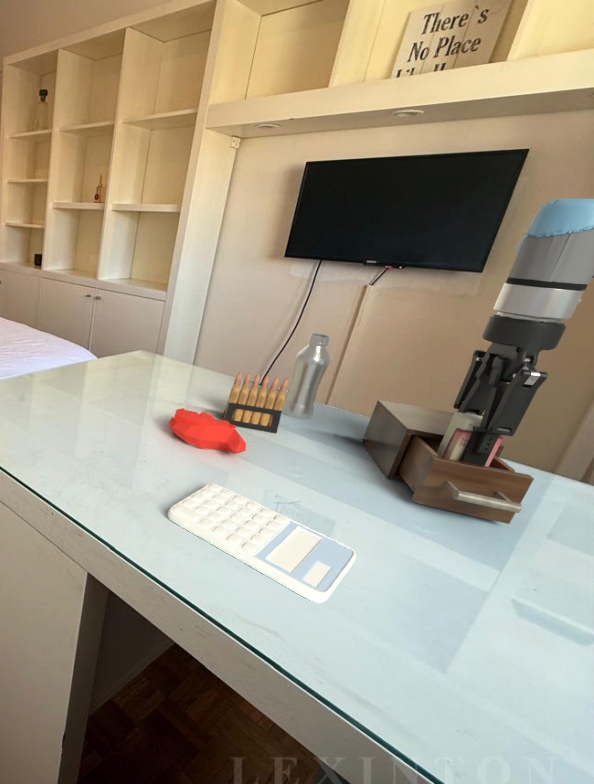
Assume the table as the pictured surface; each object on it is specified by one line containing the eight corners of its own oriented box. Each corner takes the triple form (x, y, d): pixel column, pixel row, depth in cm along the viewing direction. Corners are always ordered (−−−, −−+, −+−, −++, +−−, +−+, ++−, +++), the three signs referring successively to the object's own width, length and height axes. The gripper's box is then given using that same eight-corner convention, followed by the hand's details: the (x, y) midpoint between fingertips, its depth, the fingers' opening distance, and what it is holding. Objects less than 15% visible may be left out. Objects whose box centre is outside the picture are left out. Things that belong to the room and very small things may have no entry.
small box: (445, 465, 72) (466, 419, 69) (434, 454, 75) (454, 410, 72) (486, 474, 70) (510, 427, 67) (474, 462, 73) (495, 417, 71)
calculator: (209, 489, 73) (212, 479, 72) (356, 561, 59) (361, 549, 58) (163, 518, 64) (166, 507, 64) (321, 609, 50) (327, 596, 50)
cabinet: (478, 498, 76) (504, 446, 73) (386, 478, 81) (407, 428, 77) (437, 458, 90) (457, 413, 87) (360, 443, 94) (377, 399, 91)
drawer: (527, 542, 64) (555, 494, 61) (426, 517, 68) (447, 471, 65) (462, 479, 80) (481, 439, 78) (383, 462, 84) (399, 424, 82)
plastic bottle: (312, 421, 104) (340, 336, 97) (306, 429, 99) (335, 340, 92) (281, 412, 108) (306, 330, 101) (273, 420, 103) (299, 334, 96)
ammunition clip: (222, 423, 99) (236, 371, 95) (221, 420, 101) (234, 369, 96) (276, 433, 96) (293, 380, 92) (274, 429, 98) (290, 377, 94)
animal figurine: (233, 468, 80) (240, 442, 78) (159, 436, 90) (163, 413, 89) (260, 451, 87) (267, 427, 86) (188, 423, 98) (193, 401, 96)
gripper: (612, 332, 55) (524, 496, 63) (526, 312, 71) (463, 446, 79) (531, 324, 58) (457, 482, 66) (465, 306, 73) (410, 436, 81)
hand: (460, 462), depth 72 cm, fingers closed on small box, 4 cm apart
